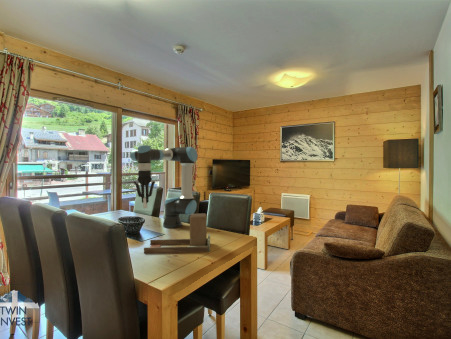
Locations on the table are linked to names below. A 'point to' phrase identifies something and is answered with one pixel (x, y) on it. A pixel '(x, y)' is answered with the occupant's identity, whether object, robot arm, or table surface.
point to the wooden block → (198, 230)
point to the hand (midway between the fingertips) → (145, 207)
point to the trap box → (157, 249)
